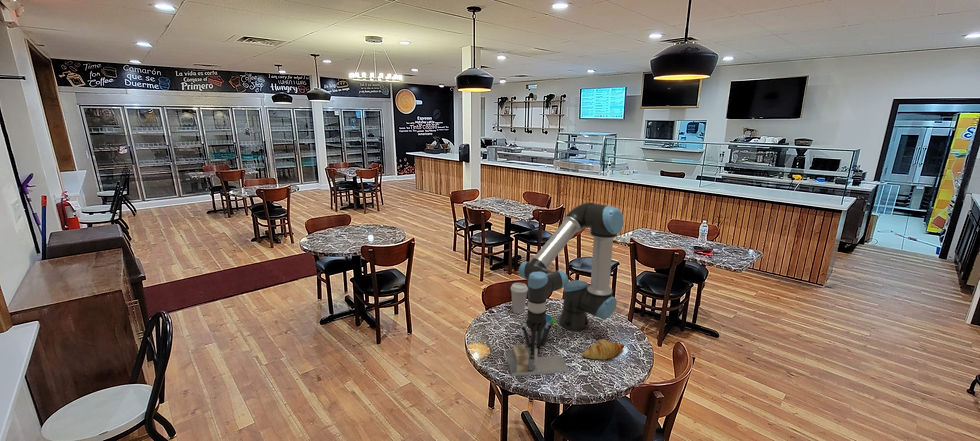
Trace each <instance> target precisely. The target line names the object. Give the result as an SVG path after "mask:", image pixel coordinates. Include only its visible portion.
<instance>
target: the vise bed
mask: <svg viewBox="0 0 980 441" xmlns="http://www.w3.org/2000/svg"><path fill="white" fill-rule="evenodd" d="M506 363H507V366H508V368H509V371H510V375H511V377H519V376H521V377H522V376H533V375H546V374H547V375H548V374H558V373H569V367H568V365H567V364H566V362H565V360H564V358H563V356H562V355H551V356H550V355H549V356H547V355H546V356H537V363H534V365H533V370H527V371H517V372H511V369H510V365H509V362H508V358H507V359H506Z"/></svg>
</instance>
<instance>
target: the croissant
mask: <svg viewBox="0 0 980 441" xmlns="http://www.w3.org/2000/svg"><path fill="white" fill-rule="evenodd" d="M624 348H625V344H623V343H618V342H614V341H610V340H609V339H608V340H607V339H603V338H602V339H598V340H597V341H596V342H594V343H593V344H592V345H591V346H590V347H588V348H587V349H586V350H585V351H583V352H582V353H581V354H582V356H583V357H584V358H586V359H587V358H588V359H592V360H600V361H601V360H604V361H605V360H607V359H608V360H609V359H612V358H613V357H616V355H618V354H620V353H621V352H622V351H623V349H624Z"/></svg>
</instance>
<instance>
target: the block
mask: <svg viewBox="0 0 980 441" xmlns="http://www.w3.org/2000/svg"><path fill="white" fill-rule="evenodd" d="M526 348H527V347H526V346H525V344H517V345H516V344H515V345H512V349H513V352H514V354H515V357H516V360H517V371H527V370H528V364H529V354H528V352H527V350H526Z"/></svg>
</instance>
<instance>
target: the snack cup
mask: <svg viewBox="0 0 980 441" xmlns="http://www.w3.org/2000/svg"><path fill="white" fill-rule="evenodd" d="M526 321H527V319H526V320H525V323H524V324H526ZM546 322H547V323H550V324H551V326H552V325H553V323H554V324H555V326H556V329H555V333H558V329H559V327H558V325H559V323H558V322H557V320H556V319H555V318H553V316H552V315H550V314H549V313H546ZM544 328H545V326H544ZM544 328H543V329H542V331H541V338H542V335H543V332H544ZM550 332H551V329H550V330H549V333H548V336H547V339H548V338H549V337H550ZM536 335H537V331H536V333H535V339H536Z"/></svg>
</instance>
